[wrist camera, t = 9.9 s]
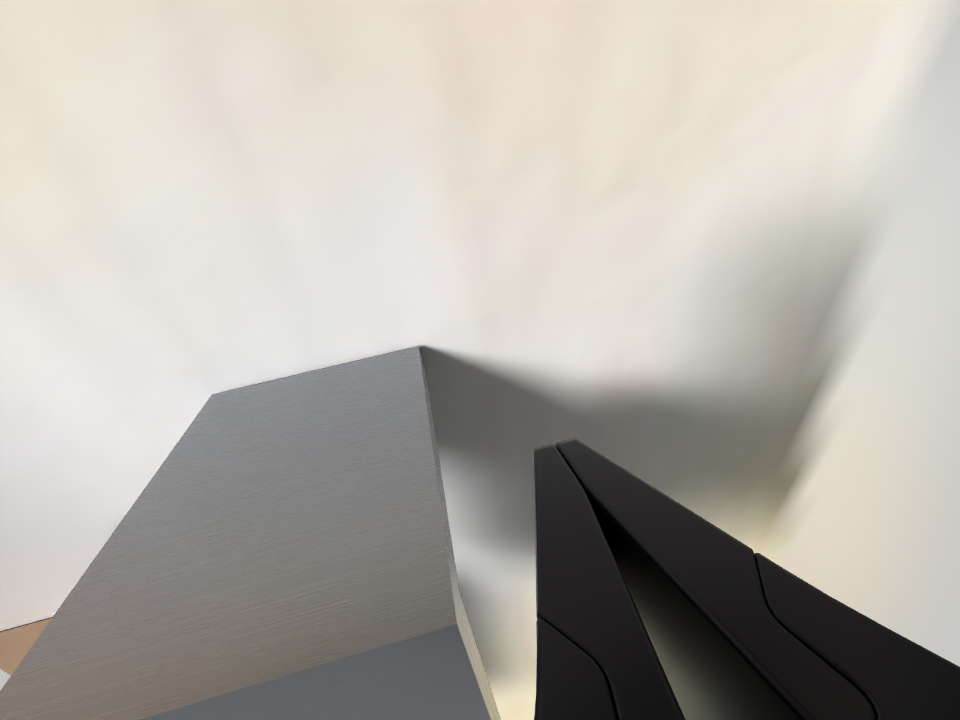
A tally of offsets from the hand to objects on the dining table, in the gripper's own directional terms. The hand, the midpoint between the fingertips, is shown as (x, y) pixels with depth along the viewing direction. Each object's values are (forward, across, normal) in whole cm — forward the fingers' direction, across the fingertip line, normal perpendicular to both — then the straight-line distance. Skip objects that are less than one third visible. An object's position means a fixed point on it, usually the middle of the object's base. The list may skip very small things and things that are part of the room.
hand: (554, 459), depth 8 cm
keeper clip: (+4, +5, +2) cm, 6 cm away
